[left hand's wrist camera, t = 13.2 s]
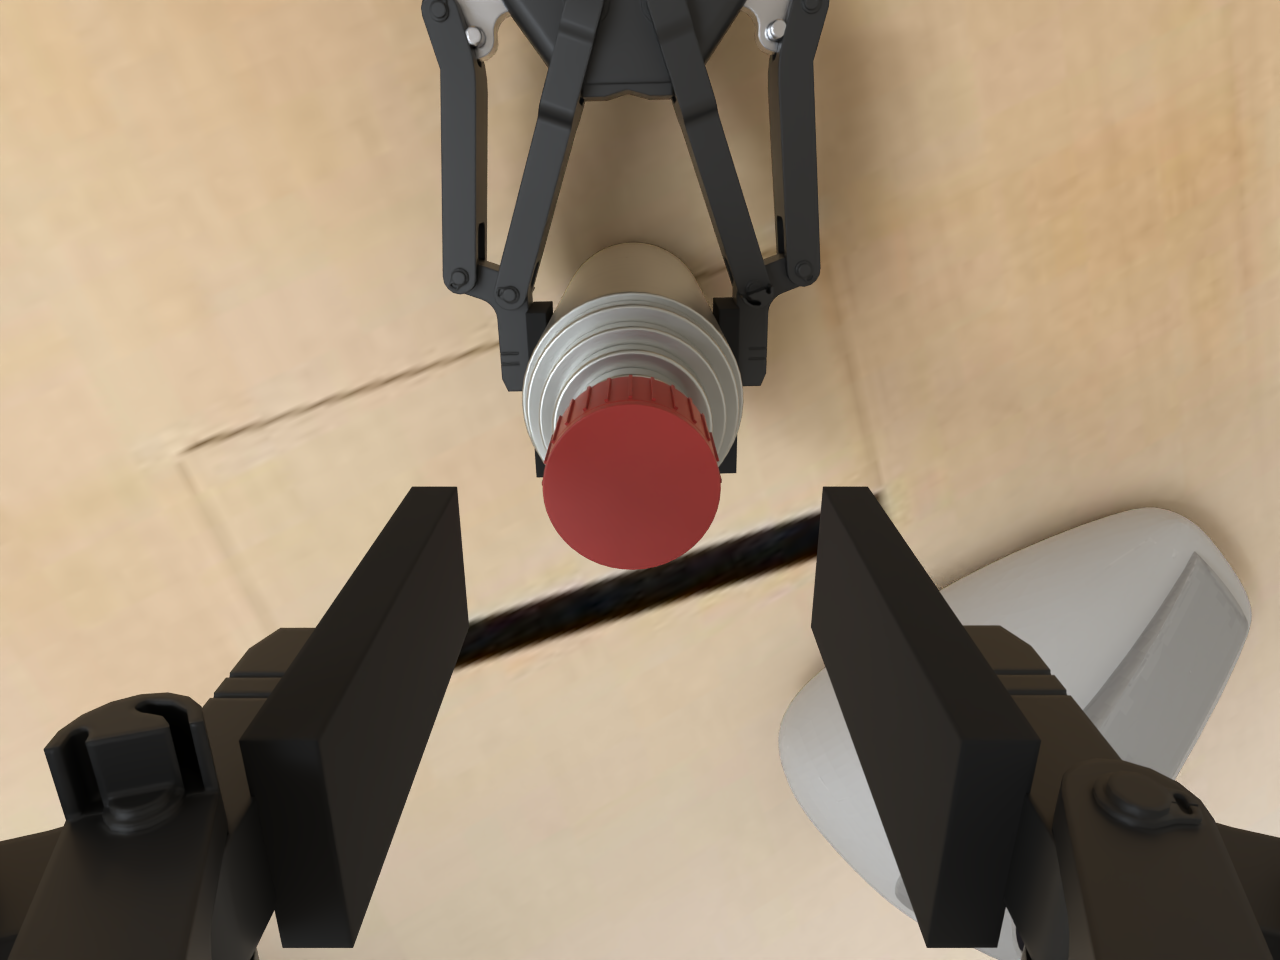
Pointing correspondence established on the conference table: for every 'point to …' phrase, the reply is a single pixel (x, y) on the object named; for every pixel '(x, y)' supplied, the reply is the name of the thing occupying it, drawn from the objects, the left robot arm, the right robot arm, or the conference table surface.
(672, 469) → the cap
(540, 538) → the conference table surface
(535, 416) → the bottle
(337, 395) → the conference table surface
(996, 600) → the projector
